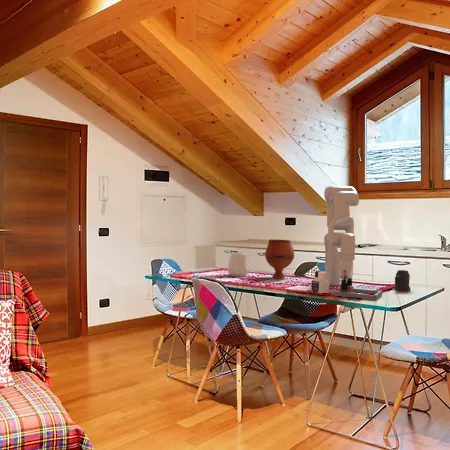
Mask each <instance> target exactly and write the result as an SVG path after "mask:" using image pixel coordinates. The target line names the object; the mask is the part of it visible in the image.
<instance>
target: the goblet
mask: <svg viewBox="0 0 450 450" xmlns="http://www.w3.org/2000/svg"><path fill="white" fill-rule="evenodd" d="M267 243H268V244H267V247H266V249H265V253H264V257H265V261H266V262H267V263H268V265H269V266H270V267H272V268H273V270H274V271H275V272H274V273H273V275H272V276H271V278H272V279H282V280H283V279H286V276H285V273H283V271H284V269H285V268H287V267H289V266H290V265H291V263H292V262H293V261H294V258H295V251H294V248H293V246H292V243H291V240H289V239H272V238H271V239H268V242H267Z"/></svg>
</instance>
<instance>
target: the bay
mask: <svg viewBox="0 0 450 450" xmlns="http://www.w3.org/2000/svg"><path fill="white" fill-rule="evenodd" d="M353 292H355V293H348V292H340V291H336V290H334V291H333V292H332V296H333V295H334V296H333V297H336V296H342V297H341V298H346V297H357V298H362V299H361V300H365V299H367V301H377V300H378V299H380V298H381V297H382V296H383V291H382V290H377V289H376V290H374V289H364V288H355V287H353ZM358 293H369V294H374V295H368V294H358Z"/></svg>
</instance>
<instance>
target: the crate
mask: <svg viewBox="0 0 450 450" xmlns="http://www.w3.org/2000/svg"><path fill="white" fill-rule="evenodd" d="M353 288H354V285H352V286H348V288H347V290H341V285H339V292H348V293H353Z"/></svg>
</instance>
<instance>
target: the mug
mask: <svg viewBox="0 0 450 450" xmlns="http://www.w3.org/2000/svg"><path fill="white" fill-rule="evenodd" d="M410 278H411V275H410V273H409V271H408V270H405V269H403V270H402V269H398V270H397V271H396V273H395V277H394V288H393V290H394V291H396V292H404V293H405V292H408V293H409V292H411V287H410V286H411V285H410V280H411V279H410Z"/></svg>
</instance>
